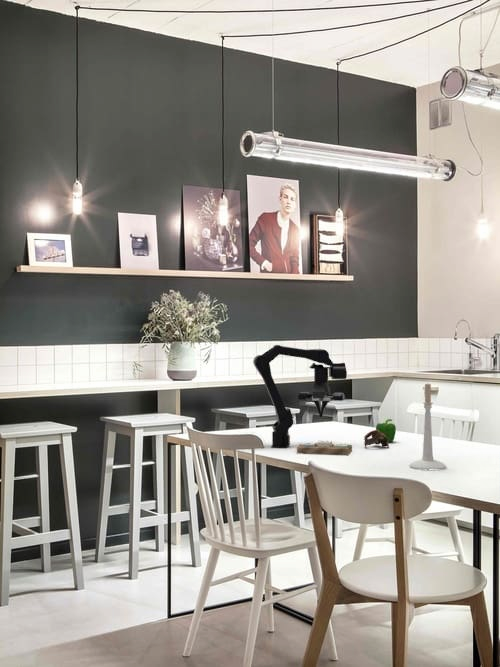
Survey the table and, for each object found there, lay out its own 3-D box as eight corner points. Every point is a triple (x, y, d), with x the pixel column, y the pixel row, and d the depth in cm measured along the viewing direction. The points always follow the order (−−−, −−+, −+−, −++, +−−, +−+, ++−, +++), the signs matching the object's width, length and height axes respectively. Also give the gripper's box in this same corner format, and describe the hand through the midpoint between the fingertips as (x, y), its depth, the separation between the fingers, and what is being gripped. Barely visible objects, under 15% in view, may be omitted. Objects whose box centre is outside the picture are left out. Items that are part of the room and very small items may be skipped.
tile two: (317, 448, 338) (317, 441, 338) (319, 446, 343) (319, 440, 343) (330, 448, 337) (330, 442, 337) (331, 446, 342) (331, 440, 342)
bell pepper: (373, 443, 365) (373, 419, 364) (378, 440, 372) (378, 417, 372) (393, 444, 361) (393, 420, 361) (397, 441, 369) (397, 418, 369)
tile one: (301, 450, 340) (301, 444, 340) (303, 448, 345) (303, 442, 345) (313, 450, 339) (313, 444, 338) (315, 448, 343) (315, 442, 343)
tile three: (333, 451, 337) (333, 445, 337) (335, 449, 341) (335, 443, 341) (346, 451, 335) (346, 445, 335) (348, 450, 340) (348, 443, 340)
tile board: (296, 453, 337) (296, 447, 337) (302, 449, 348) (302, 443, 348) (347, 455, 332) (347, 449, 332) (351, 450, 343) (351, 444, 343)
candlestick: (428, 463, 314) (428, 380, 313) (454, 468, 303) (454, 383, 302) (401, 466, 307) (401, 382, 306) (427, 471, 296) (427, 384, 296)
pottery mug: (392, 450, 347) (383, 433, 345) (370, 460, 348) (362, 443, 347) (388, 439, 359) (380, 422, 357) (368, 448, 360) (359, 432, 358)
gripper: (295, 380, 350) (295, 418, 351) (340, 381, 346) (340, 419, 346) (300, 378, 361) (300, 415, 362) (344, 379, 357) (344, 416, 357)
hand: (321, 417), depth 356 cm, fingers closed
